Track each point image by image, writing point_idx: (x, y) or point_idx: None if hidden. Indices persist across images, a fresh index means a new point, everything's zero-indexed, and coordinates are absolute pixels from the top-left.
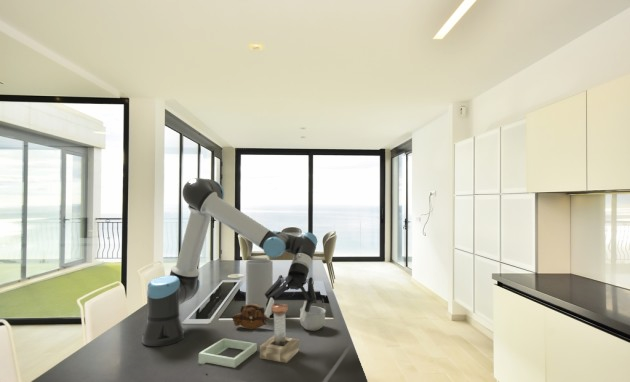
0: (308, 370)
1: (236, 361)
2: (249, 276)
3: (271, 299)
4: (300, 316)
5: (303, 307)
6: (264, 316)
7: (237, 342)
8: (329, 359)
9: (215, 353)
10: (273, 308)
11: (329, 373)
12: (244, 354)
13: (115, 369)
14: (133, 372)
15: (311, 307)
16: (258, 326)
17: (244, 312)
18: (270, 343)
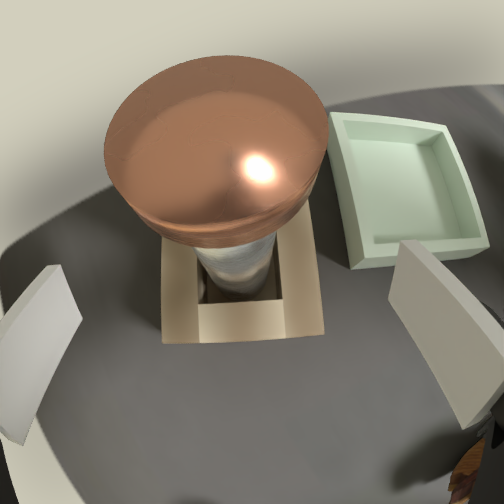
0: (101, 226)
1: (329, 126)
2: None
3: (497, 347)
4: (52, 271)
5: (2, 327)
6: (470, 496)
7: (437, 241)
8: None
9: (449, 197)
10: (248, 63)
11: (48, 236)
12: (342, 165)
13: (495, 103)
14: (472, 96)
15: None
16: (465, 457)
17: None
18: (277, 231)
